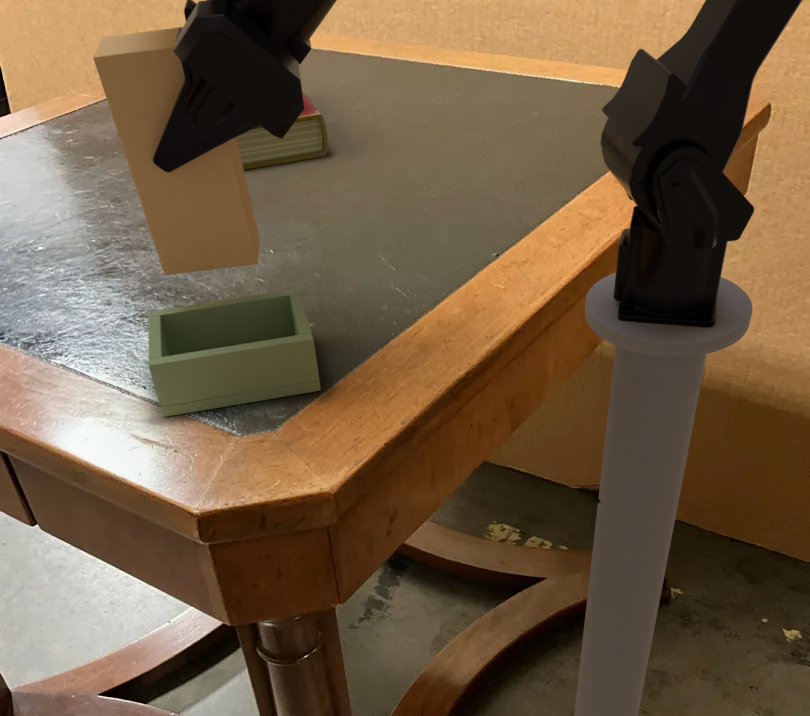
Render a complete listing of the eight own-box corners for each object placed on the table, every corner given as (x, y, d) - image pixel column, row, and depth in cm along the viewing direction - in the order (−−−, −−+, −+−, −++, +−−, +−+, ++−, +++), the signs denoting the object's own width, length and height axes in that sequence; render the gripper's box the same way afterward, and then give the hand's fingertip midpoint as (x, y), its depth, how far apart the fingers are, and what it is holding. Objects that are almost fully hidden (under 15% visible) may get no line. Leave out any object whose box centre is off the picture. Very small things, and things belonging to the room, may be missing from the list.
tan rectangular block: (169, 251, 59) (101, 36, 49) (260, 240, 59) (209, 23, 49) (164, 275, 57) (92, 57, 47) (258, 264, 57) (204, 42, 47)
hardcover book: (286, 97, 105) (280, 58, 102) (329, 155, 90) (324, 110, 87) (184, 113, 103) (175, 73, 100) (210, 175, 88) (201, 130, 85)
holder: (161, 361, 62) (148, 311, 59) (306, 338, 63) (299, 287, 60) (163, 417, 57) (148, 365, 54) (321, 391, 58) (313, 338, 55)
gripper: (198, -230, 49) (59, 20, 55) (174, -217, 35) (-7, 113, 42) (357, -71, 54) (213, 138, 61) (391, -5, 40) (199, 255, 47)
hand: (162, 156), depth 53 cm, fingers closed on tan rectangular block, 3 cm apart
